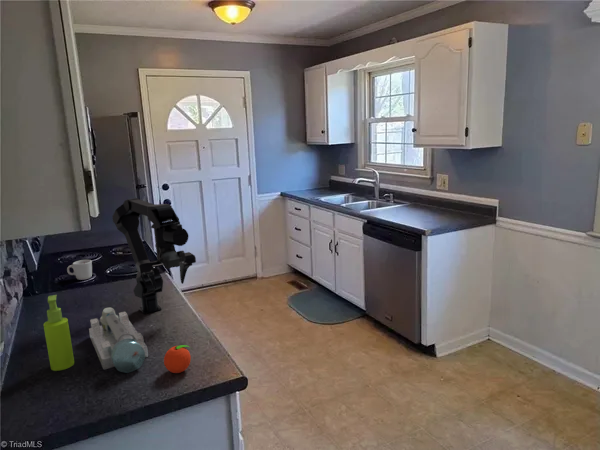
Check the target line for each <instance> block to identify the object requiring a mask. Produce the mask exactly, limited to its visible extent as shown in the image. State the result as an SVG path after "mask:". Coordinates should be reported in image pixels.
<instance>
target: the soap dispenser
mask: <svg viewBox="0 0 600 450" xmlns="http://www.w3.org/2000/svg"><path fill="white" fill-rule="evenodd" d="M57 296H58V295H57V294H53V295H48V297H47V304H48V305H49V309H47V310H46V317H47V321H45V322H44V323H43V331H44V337H45V342H46V348H47V352H48V353H47V354H48V360H49V366H50V369H51V371H53V372H57V371H64V370H66V369H69V368H71V367H73V366H74V365H75V357H74V351H73V346H72V344H73V343H72V337H71V332H70V326H69V319H68V318H67V317H63V314H62V308H61V307H58V306H57V298H58V297H57Z"/></svg>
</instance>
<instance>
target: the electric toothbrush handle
mask: <svg viewBox="0 0 600 450" xmlns="http://www.w3.org/2000/svg"><path fill="white" fill-rule="evenodd" d="M99 323H100V325H102V328H103V329H106V330H111V331H112V333H113V335H114V336H115V338H116V340H117V343H118V342H119V341H121V340H123V339H128V338H130V339H133V335H132V334H130V333H129V332H128V331H127V329H126V328H125V327H124V326H123V324H122V323H121V322H120V318H119V315H118V314H116V310H115V309H114V308H113V307H105V308H104V309H103V310H102V311H101V316H100V318H99Z"/></svg>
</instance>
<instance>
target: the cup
mask: <svg viewBox="0 0 600 450" xmlns="http://www.w3.org/2000/svg"><path fill="white" fill-rule="evenodd" d="M92 263H93V260H91V259H81V260H76V261H74V262H72V264H71V265H68V267H67V268H66V271H67V273H68V275H69V276H75V278H76V279H77V280H78V281H79V280H80V281H81V280H82V281H83V280H88V279H91V278H92V275H93V264H92ZM70 268H71V269H73V272H71V271H70Z"/></svg>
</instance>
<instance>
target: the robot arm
mask: <svg viewBox="0 0 600 450" xmlns="http://www.w3.org/2000/svg"><path fill="white" fill-rule="evenodd" d="M141 215H142V216H143V215H144V216H145V217H147V220H148V221H149V222H151V223H152V224H151V226H150V228H151V229H153V233H154V242H155V248H156V249H155V250H156V260H155V261H150V259H149V256H148V253H147V251H146V249H145V246H144V243H143V239H142V238H141V234H140V233H139V226H140V219H139V218H140V217H141ZM112 223H114V225H115V227H116V229H117V230H118V231H119V232H120V233H122V234H123V235H124V236H125V240H126V242H127V244H128V248H129V250H130V253H131V257H132V258H133V262H134V264H135V267H136V270H137V272H136V273H137V274H136V278H135V281H136V285H135V287H134V288H133V293H134V297H137V298H139V299H140V302H141V306H140V307H139V310H140V311H141V312H142V314H143V315H145V314H149V313H153V312H158V311H161V310H162V307H161V306H160V304H159V301H158V300H159V299H158V294H159V293H161V292H163V287H164V279H163V277H162V274H161V272H160V269H159V268H158V267H162V266H164V269H167V270H171V268H172V269H173V268H178V267H179V277H180V283H181V284H184V282H185V278H186V275H187V272H188V269H189V267H191V266H193V264H195V263H197V260H196V255H194V254H193V253H192V252H189V251H187V252H185V251H184V250H178V251H177V250H176V247H175V246H177V247H182V246H184V245H186V244H187V243H188V241H189V233H188V231H187V230H186V229H185V228H183V225H182V224H181V221H180V218H179V217H178V215H177V214H176V212H175V209H174V208H173V207H172V205H171V204H169V203H161V204H160V203H159V204H155V203H151V202H148V201H145V200H142V199H140V198H136V197H135V198H126V200H124V201H123V203H122V204H121V205H120V206H118V207H117V208H116V209H115V211H114V213H113V215H112Z"/></svg>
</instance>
